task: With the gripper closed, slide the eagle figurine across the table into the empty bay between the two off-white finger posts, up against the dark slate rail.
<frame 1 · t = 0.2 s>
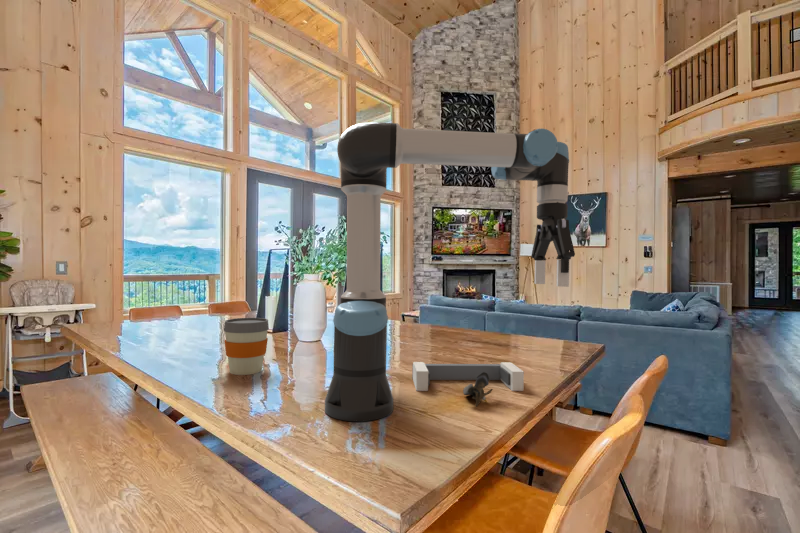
hand: (550, 285, 105), 28 cm above the table, fingers open, 13 cm apart
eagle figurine: (477, 402, 96), on the table
reusable coffee cup: (245, 371, 119), on the table
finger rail: (466, 385, 108), on the table
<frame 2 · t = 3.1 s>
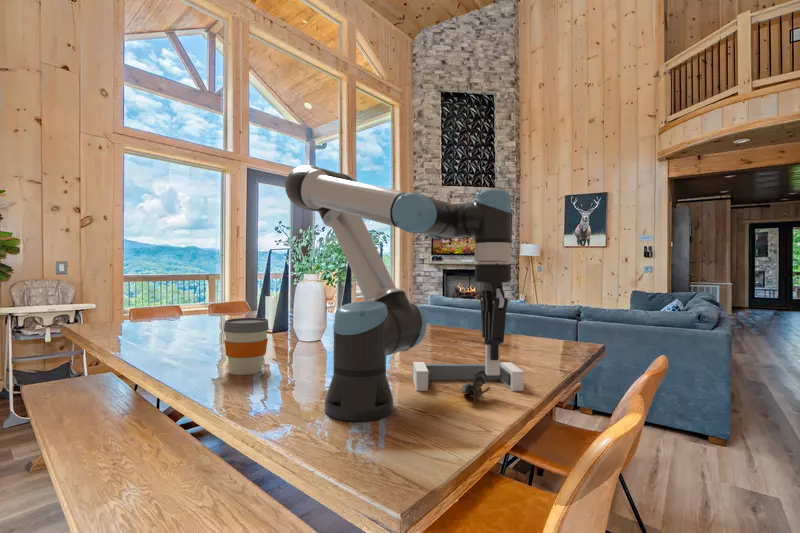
hand: (492, 374, 85), 9 cm above the table, fingers closed
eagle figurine: (475, 400, 97), on the table
everything else where it was.
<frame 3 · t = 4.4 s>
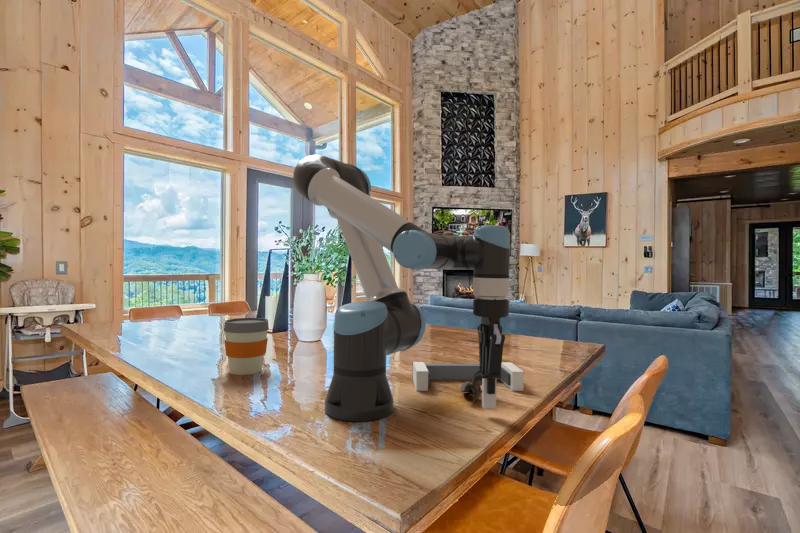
hand: (488, 407, 86), 2 cm above the table, fingers closed
nothing on the table moved.
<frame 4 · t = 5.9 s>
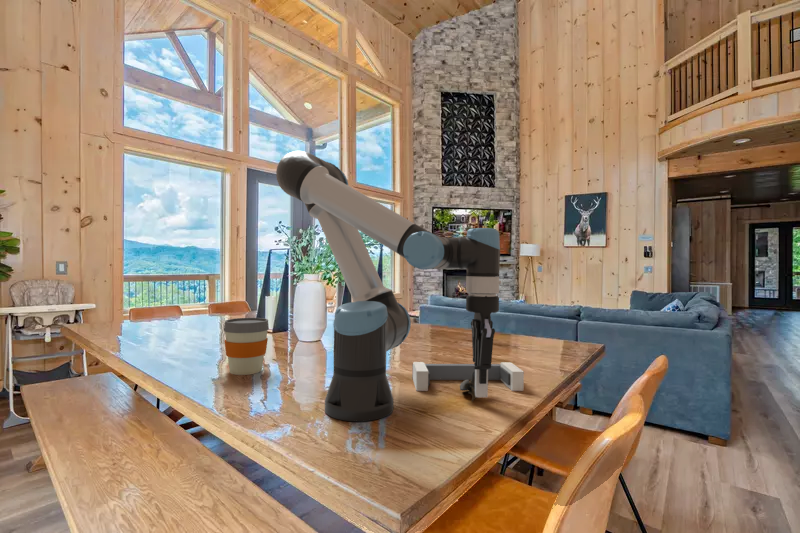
hand: (481, 396, 93), 2 cm above the table, fingers closed
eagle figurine: (473, 397, 99), on the table, touching gripper
everything else where it was.
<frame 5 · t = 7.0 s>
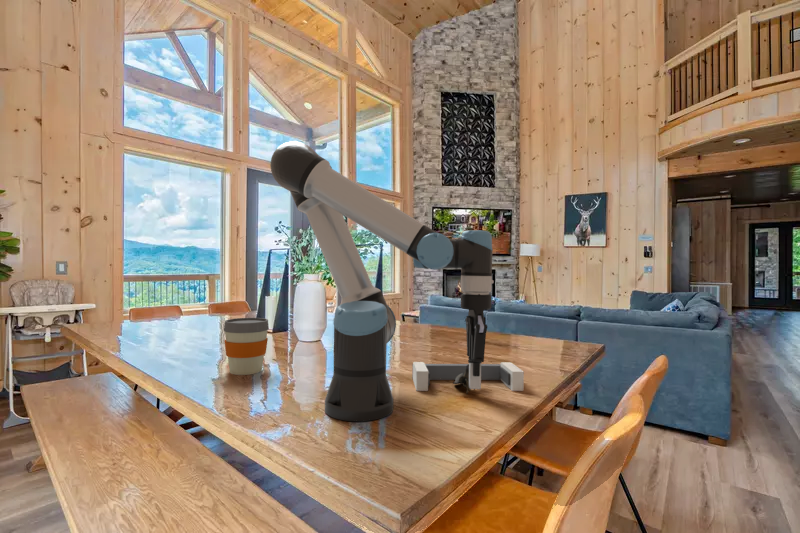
hand: (474, 388, 99), 2 cm above the table, fingers closed
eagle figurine: (466, 390, 105), on the table, touching gripper
everything else where it was.
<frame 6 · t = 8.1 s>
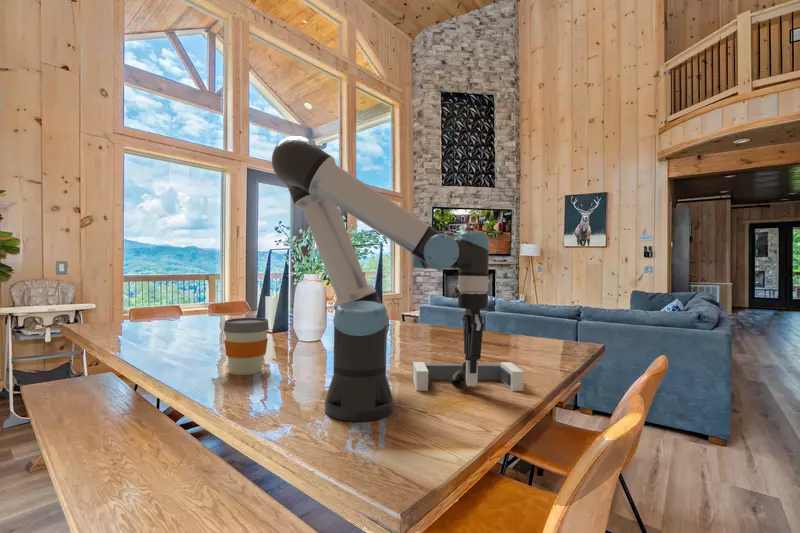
hand: (471, 384, 102), 2 cm above the table, fingers closed
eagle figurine: (463, 386, 108), on the table, touching gripper
everything else where it was.
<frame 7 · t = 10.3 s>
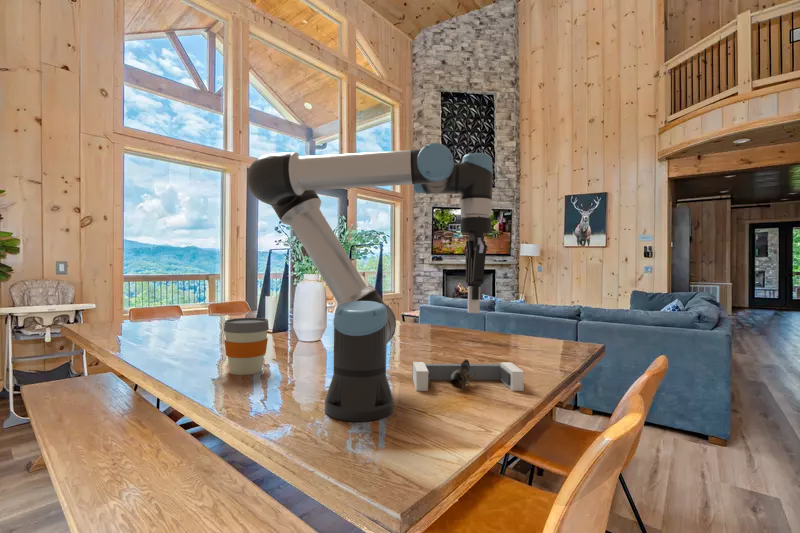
hand: (473, 312, 99), 21 cm above the table, fingers closed
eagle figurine: (461, 386, 109), on the table, touching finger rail
everything else where it was.
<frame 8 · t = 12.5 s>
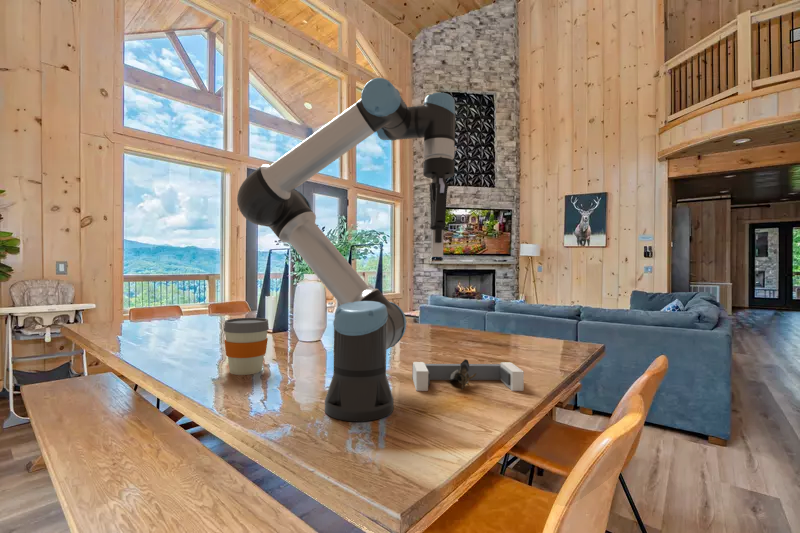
hand: (437, 256, 98), 34 cm above the table, fingers closed
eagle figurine: (461, 386, 109), on the table
everything else where it was.
at the end: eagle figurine inside the target area on the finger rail (1.7 cm from its centre), point 0.0 cm above the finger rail's base; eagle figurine tilted 0°; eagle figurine moved 13.2 cm from its start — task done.
